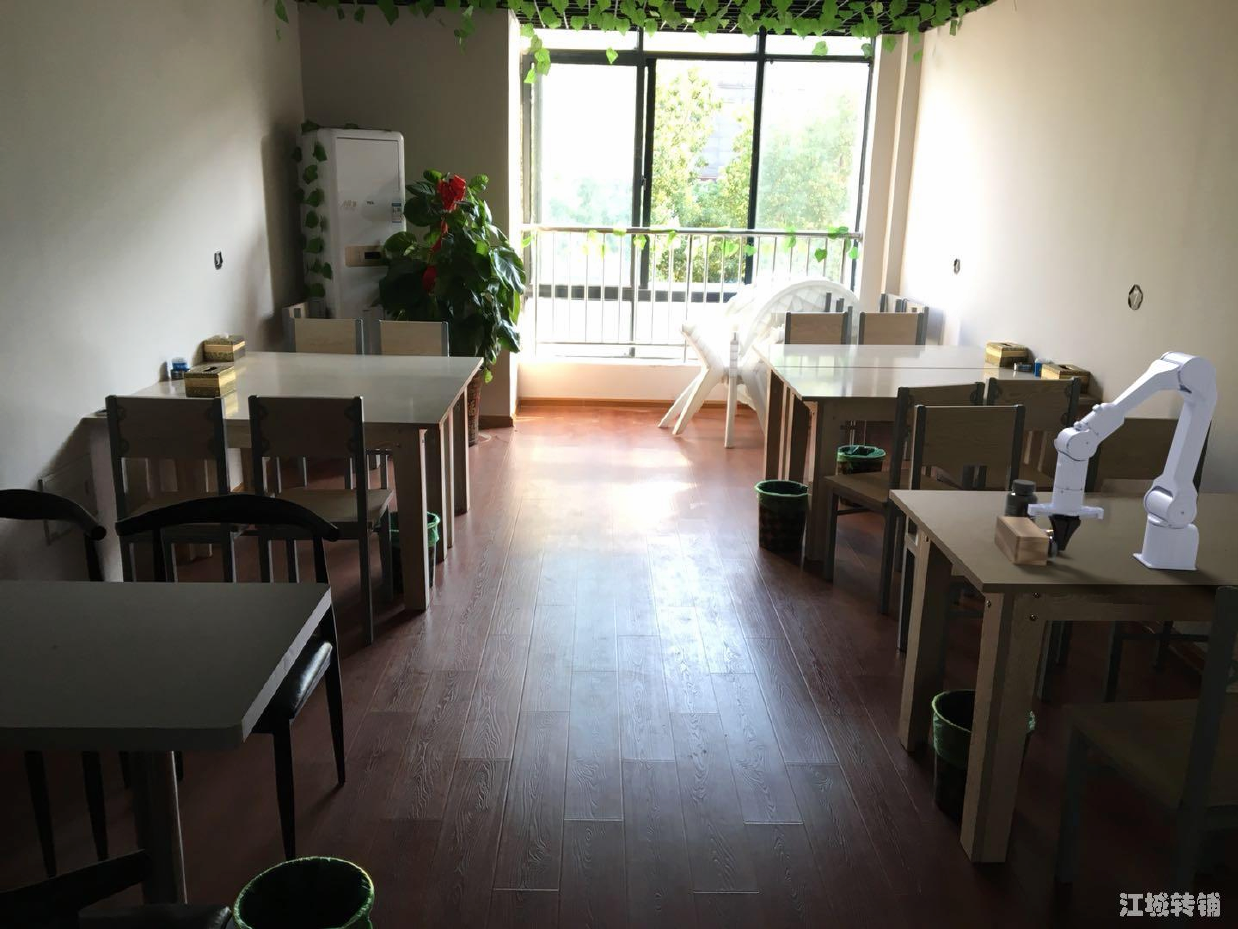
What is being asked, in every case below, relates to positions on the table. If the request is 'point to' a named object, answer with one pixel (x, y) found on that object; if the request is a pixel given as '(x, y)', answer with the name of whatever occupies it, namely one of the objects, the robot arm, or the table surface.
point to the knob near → (1052, 547)
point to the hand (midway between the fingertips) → (1060, 549)
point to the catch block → (1021, 540)
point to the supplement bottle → (1021, 499)
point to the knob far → (1048, 531)
